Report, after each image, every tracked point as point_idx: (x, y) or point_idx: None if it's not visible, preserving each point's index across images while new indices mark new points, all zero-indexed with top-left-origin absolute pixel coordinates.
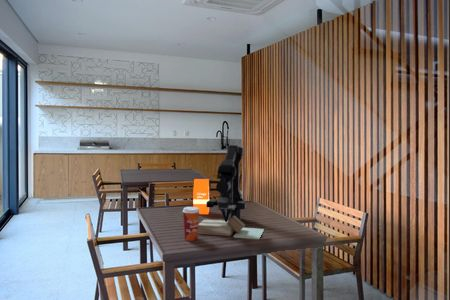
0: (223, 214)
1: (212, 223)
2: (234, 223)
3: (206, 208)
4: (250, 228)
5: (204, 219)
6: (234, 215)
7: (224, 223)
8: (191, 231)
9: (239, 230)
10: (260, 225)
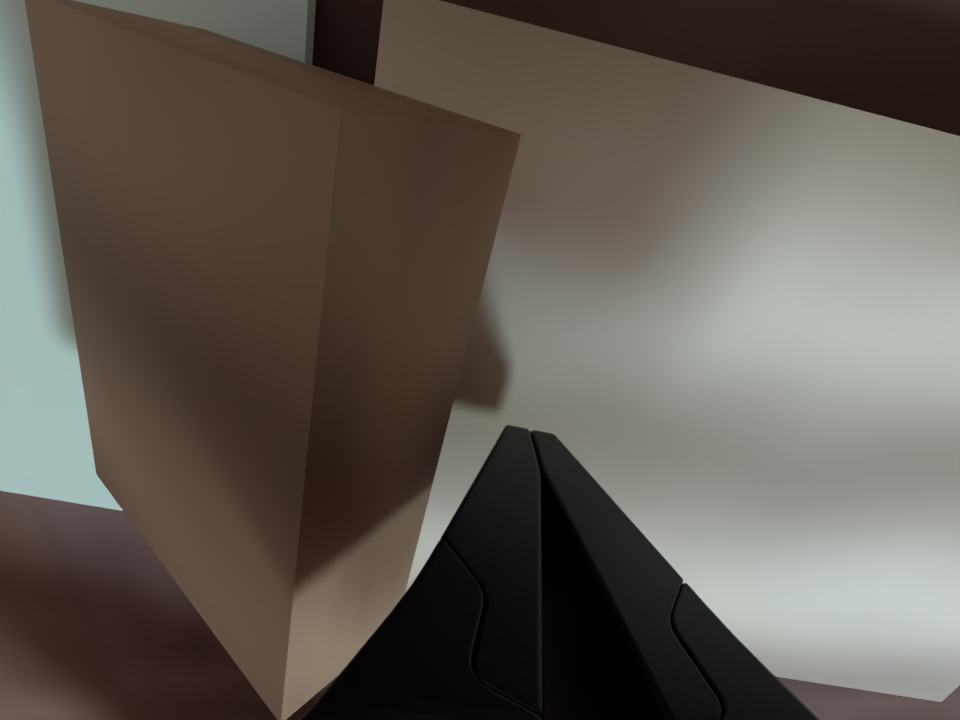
0: (699, 624)
1: (885, 435)
2: (176, 51)
3: None
4: (92, 486)
5: (953, 684)
6: (275, 710)
7: (568, 442)
8: None
9: (118, 12)
10: (27, 640)
